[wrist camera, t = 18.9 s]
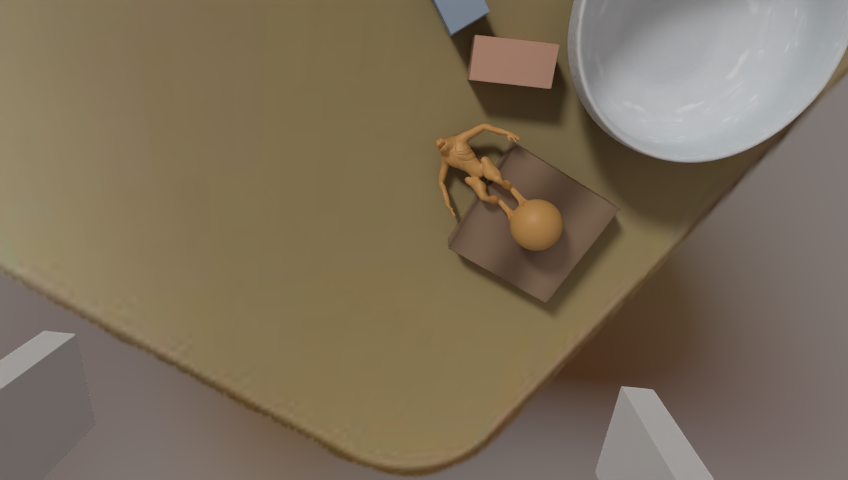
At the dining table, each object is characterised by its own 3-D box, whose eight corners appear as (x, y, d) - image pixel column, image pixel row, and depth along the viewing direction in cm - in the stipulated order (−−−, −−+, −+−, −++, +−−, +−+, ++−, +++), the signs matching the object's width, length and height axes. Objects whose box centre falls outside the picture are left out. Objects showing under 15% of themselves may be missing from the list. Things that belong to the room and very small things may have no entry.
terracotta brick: (466, 78, 35) (469, 79, 33) (472, 37, 34) (475, 34, 32) (542, 87, 36) (550, 88, 33) (549, 46, 34) (559, 44, 32)
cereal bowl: (504, 47, 34) (519, 42, 28) (679, -160, 30) (749, -226, 23) (648, 189, 38) (693, 213, 31) (826, 23, 33) (923, 11, 27)
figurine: (520, 287, 35) (396, 196, 34) (521, 250, 40) (414, 171, 39) (599, 212, 31) (461, 106, 30) (589, 182, 36) (471, 91, 35)
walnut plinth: (448, 236, 41) (448, 248, 38) (510, 139, 37) (516, 145, 35) (538, 287, 42) (546, 303, 39) (606, 199, 39) (619, 209, 36)
